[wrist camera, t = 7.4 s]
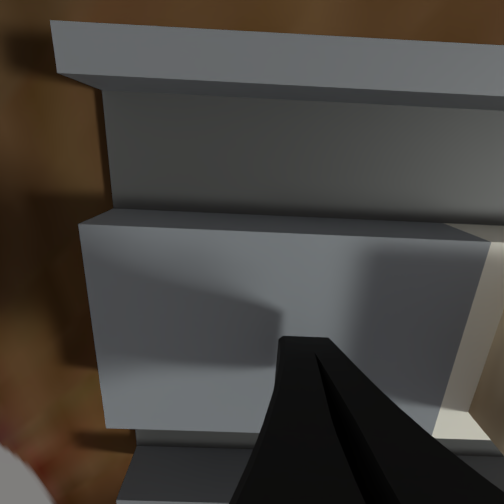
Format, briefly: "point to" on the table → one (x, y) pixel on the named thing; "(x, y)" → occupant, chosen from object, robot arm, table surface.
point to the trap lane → (287, 233)
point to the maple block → (492, 392)
